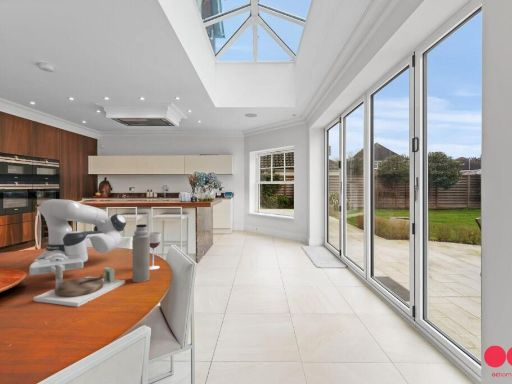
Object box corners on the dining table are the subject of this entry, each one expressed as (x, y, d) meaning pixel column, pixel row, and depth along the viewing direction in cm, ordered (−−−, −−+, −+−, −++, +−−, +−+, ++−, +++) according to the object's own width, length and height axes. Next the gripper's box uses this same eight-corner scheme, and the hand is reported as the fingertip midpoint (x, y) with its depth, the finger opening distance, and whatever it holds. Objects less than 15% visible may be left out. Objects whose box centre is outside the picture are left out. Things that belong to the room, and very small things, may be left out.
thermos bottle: (140, 276, 145) (140, 223, 145) (152, 278, 143) (153, 224, 142) (128, 281, 138) (129, 225, 137) (141, 283, 135) (142, 226, 135)
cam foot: (96, 278, 136) (96, 253, 136) (115, 286, 126) (115, 259, 126) (47, 290, 119) (47, 262, 119) (64, 300, 109) (65, 270, 109)
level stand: (33, 300, 112) (33, 282, 112) (87, 279, 139) (87, 264, 139) (77, 306, 108) (78, 287, 108) (124, 283, 134) (124, 268, 134)
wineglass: (152, 270, 155) (152, 235, 155) (142, 268, 160) (142, 233, 160) (163, 267, 162) (164, 233, 162) (153, 264, 167) (154, 231, 166)
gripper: (82, 266, 140) (85, 273, 129) (30, 273, 127) (28, 282, 116) (82, 254, 139) (85, 260, 128) (30, 260, 127) (28, 267, 116)
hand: (58, 270), depth 122 cm, fingers closed
